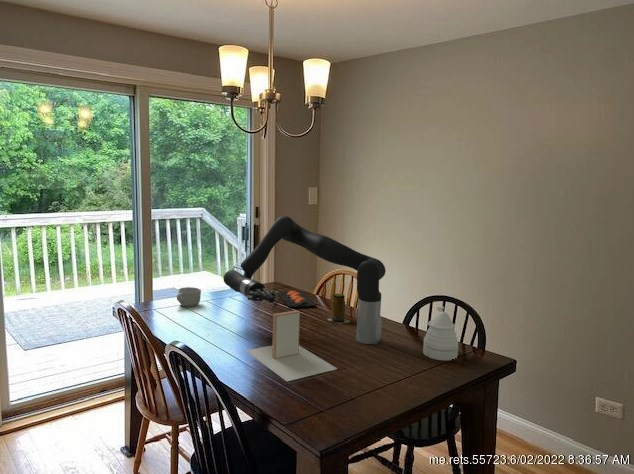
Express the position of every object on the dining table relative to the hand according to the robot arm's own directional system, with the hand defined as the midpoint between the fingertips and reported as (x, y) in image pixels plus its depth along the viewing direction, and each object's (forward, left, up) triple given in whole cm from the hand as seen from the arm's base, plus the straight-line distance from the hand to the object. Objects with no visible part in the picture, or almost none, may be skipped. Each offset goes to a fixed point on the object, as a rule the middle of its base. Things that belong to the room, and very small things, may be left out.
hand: (273, 300), depth 179 cm
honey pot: (-56, -31, -19) cm, 67 cm away
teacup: (+66, -25, -19) cm, 73 cm away
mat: (-12, +7, -19) cm, 24 cm away
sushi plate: (+33, -59, -20) cm, 71 cm away
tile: (-9, +5, -18) cm, 21 cm away
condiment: (-6, -46, -19) cm, 51 cm away
